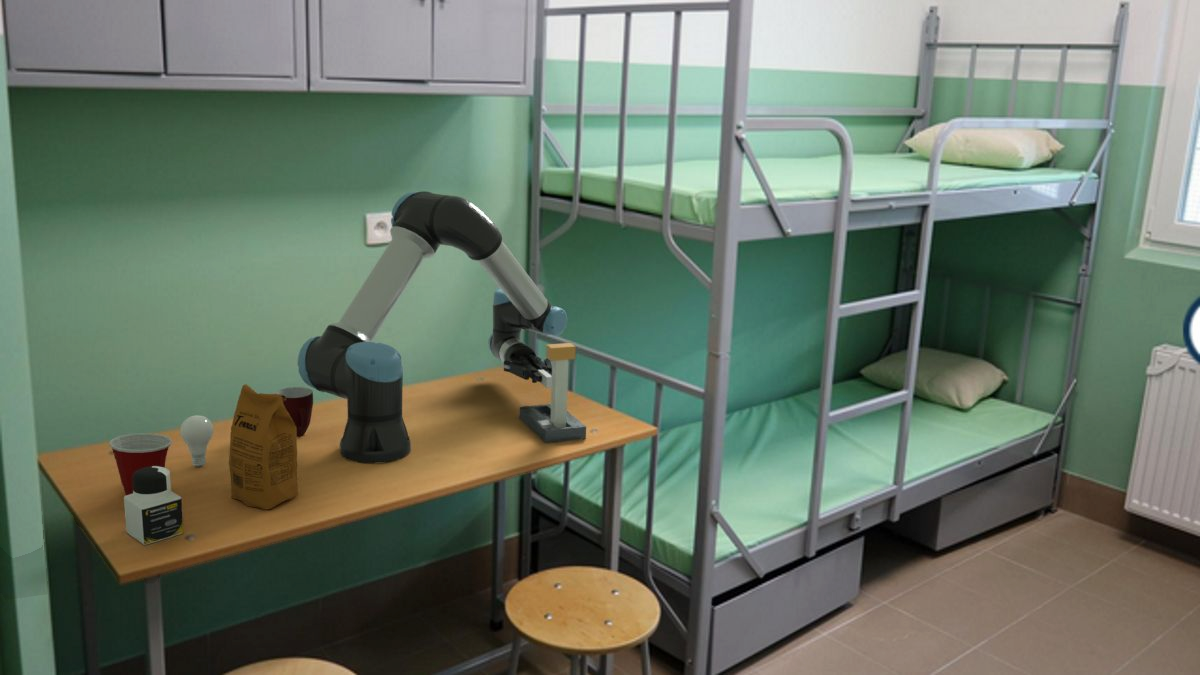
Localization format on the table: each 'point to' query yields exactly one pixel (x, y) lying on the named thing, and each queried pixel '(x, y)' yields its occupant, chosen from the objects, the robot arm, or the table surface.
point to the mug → (298, 406)
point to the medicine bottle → (153, 506)
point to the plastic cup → (138, 454)
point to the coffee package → (262, 450)
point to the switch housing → (545, 430)
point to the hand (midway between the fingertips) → (549, 382)
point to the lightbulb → (197, 437)
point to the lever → (559, 380)
